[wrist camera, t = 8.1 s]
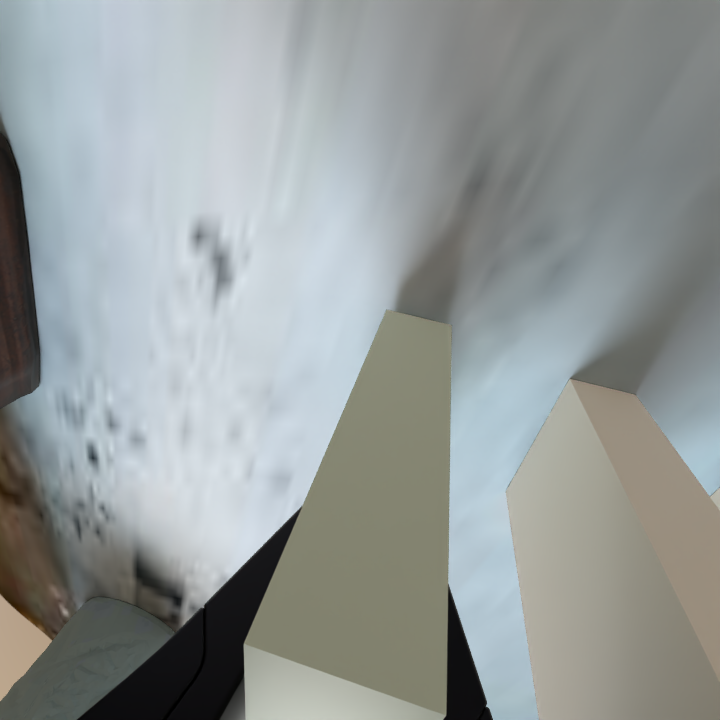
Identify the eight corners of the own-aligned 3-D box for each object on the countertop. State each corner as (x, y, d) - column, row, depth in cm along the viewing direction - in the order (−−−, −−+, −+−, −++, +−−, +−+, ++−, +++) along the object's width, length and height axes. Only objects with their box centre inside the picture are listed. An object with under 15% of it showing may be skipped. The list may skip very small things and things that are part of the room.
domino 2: (635, 394, 10) (986, 876, 3) (557, 506, 13) (669, 902, 6) (569, 378, 10) (780, 805, 4) (505, 491, 13) (559, 860, 6)
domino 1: (451, 324, 10) (446, 716, 3) (409, 455, 12) (356, 823, 6) (386, 309, 10) (242, 642, 3) (358, 441, 13) (246, 780, 6)
